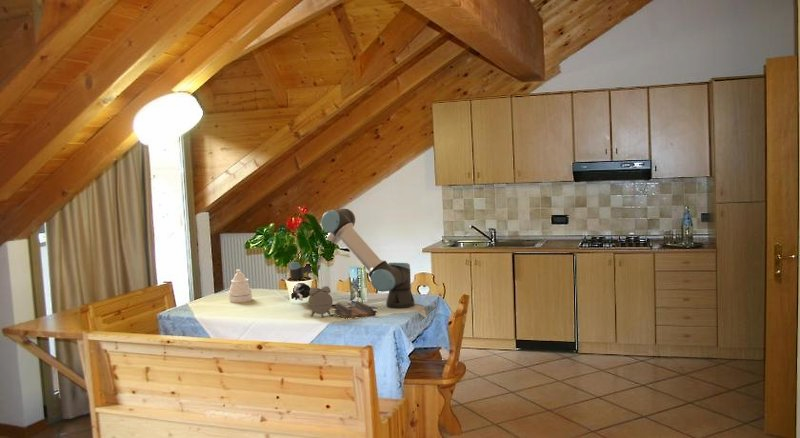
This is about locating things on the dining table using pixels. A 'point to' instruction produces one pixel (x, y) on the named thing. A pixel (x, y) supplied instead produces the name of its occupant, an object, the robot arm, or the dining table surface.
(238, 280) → the honey pot
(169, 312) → the dining table surface
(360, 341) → the dining table surface
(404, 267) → the robot arm
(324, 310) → the alarm clock
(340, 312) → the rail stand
